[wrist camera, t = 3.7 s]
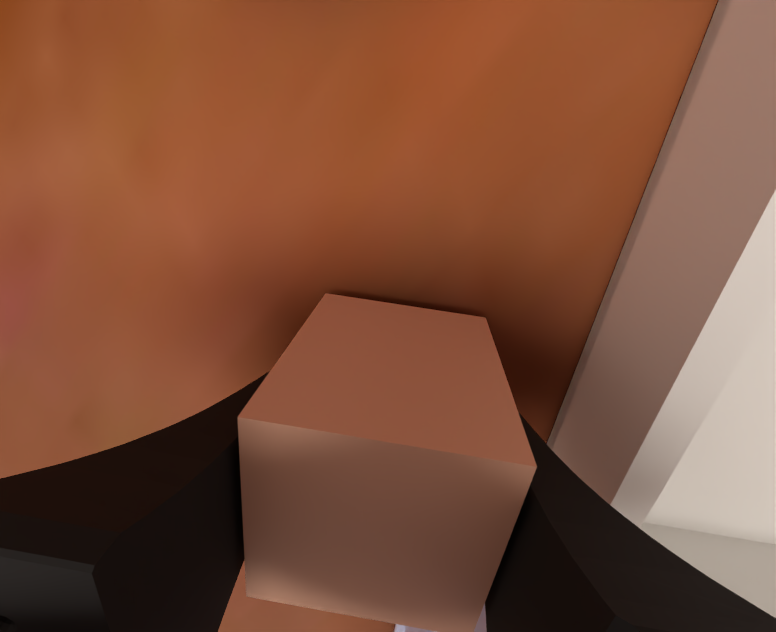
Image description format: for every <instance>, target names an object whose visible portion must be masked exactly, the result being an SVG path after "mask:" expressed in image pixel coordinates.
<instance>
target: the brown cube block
mask: <svg viewBox="0 0 776 632" xmlns="http://www.w3.org/2000/svg"><path fill="white" fill-rule="evenodd" d="M238 438H239V458H240V478H241V498H242V518H243V539H244V559H245V579H246V596H247V597H252V598H257V599H263V600H268V601H274V602H279V603H285V604H290V605H295V606H301V607H306V608H312V609H317V610H323V611H328V612H333V613H339V614H344V615H350V616H355V617H361V618H366V619H371V620H377V621H382V622H388V623H393V624H399V625H404V626H409V627H415V628H420V629H426V630H431V631H437V632H474V630H475V627H476V624H477V622H478V619H479V616H480V614H481V611H482V609H483V606H484V603H485V601H486V598H487V596H488V593H489V590H490V588H491V585H492V583H493V580H494V577H495V575H496V572H497V570H498V567H499V564H500V562H501V559H502V557H503V554H504V551H505V549H506V546H507V544H508V541H509V538H510V536H511V533H512V531H513V528H514V525H515V523H516V520H517V518H518V515H519V512H520V510H521V507H522V505H523V502H524V499H525V497H526V494H527V492H528V489H529V486H530V484H531V481H532V479H533V476H534V473H535V471H536V468H537V465H536V462H535V460H534V457H533V454H532V451H531V448H530V445H529V442H528V439H527V436H526V433H525V430H524V428H523V425H522V422H521V419H520V416H519V413H518V410H517V407H516V404H515V401H514V398H513V396H512V393H511V390H510V387H509V384H508V381H507V378H506V375H505V372H504V369H503V366H502V364H501V361H500V358H499V355H498V352H497V349H496V346H495V343H494V340H493V337H492V334H491V332H490V329H489V326H488V323H487V320H486V318H485V317H479V316H472V315H466V314H459V313H452V312H446V311H439V310H433V309H426V308H420V307H413V306H406V305H400V304H393V303H387V302H380V301H374V300H367V299H361V298H354V297H347V296H341V295H334V294H328V293H325V295H324V296H323V298H322V299H321V300H320V302H319V303H318V305H317V306H316V307H315V309H314V310H313V312H312V313H311V314H310V316H309V317H308V319H307V320H306V322H305V323H304V324H303V326H302V327H301V329H300V330H299V331H298V333H297V334H296V336H295V337H294V338H293V340H292V341H291V343H290V344H289V345H288V347H287V348H286V350H285V351H284V352H283V354H282V355H281V357H280V358H279V359H278V361H277V362H276V364H275V365H274V366H273V368H272V369H271V371H270V372H269V373H268V375H267V376H266V378H265V379H264V381H263V382H262V383H261V385H260V386H259V388H258V389H257V390H256V392H255V393H254V395H253V396H252V397H251V399H250V400H249V402H248V403H247V404H246V406H245V407H244V409H243V410H242V411H241V413H240V414H239V416H238Z"/></svg>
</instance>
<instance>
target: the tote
mask: <svg viewBox="0 0 776 632" xmlns="http://www.w3.org/2000/svg"><path fill="white" fill-rule="evenodd" d="M547 445H548V446H549V448H550V449H551V450H552V451H553V452H554V453H555V454H556V455H557V456H558V457H559V458H560V459H561V460H562V461H563V462H564V463H565V464H566V465H567V466H568V467H569V468H570V469H571V470H572V471H573V472H574V473H575V474H576V475H577V476H578V477H579V478H580V479H581V480H582V481H583V482H585V483H586V484H587V485H588V486H589V487H590V488H591V489H592V490H594V491H595V492H596V493H597V494H598V495H599V496H600V497H601V498H603V499H604V500H605V501H606V502H607V503H608V504H610V505H611V506H612V507H613V508H615V509H616V510H617V511H618V512H619V513H621V514H622V515H623V516H624V517H626V518H627V519H628V520H630V521H631V522H632V523H634V524H635V525H636V526H637V527H639V528H640V529H641V530H643V531H644V532H645V533H646V534H648V535H649V536H650V537H652V538H653V539H655V540H656V541H657V542H659V543H660V544H662V545H663V546H664V547H666V548H667V549H668V550H670V551H671V552H673V553H674V554H676V555H677V556H679V557H680V558H682V559H683V560H684V561H686V562H687V563H689V564H690V565H692V566H693V567H695V568H696V569H698V570H699V571H701V572H702V573H704V574H705V575H707V576H708V577H710V578H711V579H713V580H714V581H716V582H718V583H719V584H721V585H723V586H724V587H726V588H727V589H729V590H731V591H732V592H734V593H736V594H737V595H739V596H740V597H742V598H744V599H745V600H747V601H749V602H750V603H752V604H753V605H755V606H757V607H758V608H760V609H762V610H763V611H765V612H766V613H768V614H770V615H771V616H773V617H775V618H776V0H719V1H718V3H717V6H716V9H715V11H714V14H713V16H712V19H711V21H710V24H709V27H708V29H707V32H706V34H705V37H704V39H703V42H702V45H701V47H700V50H699V52H698V55H697V58H696V60H695V63H694V65H693V68H692V70H691V73H690V76H689V78H688V81H687V83H686V86H685V88H684V91H683V94H682V96H681V99H680V101H679V104H678V107H677V109H676V112H675V114H674V117H673V119H672V122H671V125H670V127H669V130H668V132H667V135H666V137H665V140H664V143H663V145H662V148H661V150H660V153H659V156H658V158H657V161H656V163H655V166H654V168H653V171H652V174H651V176H650V179H649V181H648V184H647V186H646V189H645V192H644V194H643V197H642V199H641V202H640V205H639V207H638V210H637V212H636V215H635V217H634V220H633V223H632V225H631V228H630V230H629V233H628V235H627V238H626V241H625V243H624V246H623V248H622V251H621V254H620V256H619V259H618V261H617V264H616V266H615V269H614V272H613V274H612V277H611V279H610V282H609V284H608V287H607V290H606V292H605V295H604V297H603V300H602V303H601V305H600V308H599V310H598V313H597V315H596V318H595V321H594V323H593V326H592V328H591V331H590V333H589V336H588V339H587V341H586V344H585V346H584V349H583V352H582V354H581V357H580V359H579V362H578V364H577V367H576V370H575V372H574V375H573V377H572V380H571V382H570V385H569V388H568V390H567V393H566V395H565V398H564V401H563V403H562V406H561V408H560V411H559V413H558V416H557V419H556V421H555V424H554V426H553V429H552V431H551V434H550V437H549V439H548V442H547Z"/></svg>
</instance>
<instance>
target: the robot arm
mask: <svg viewBox="0 0 776 632" xmlns="http://www.w3.org/2000/svg"><path fill="white" fill-rule="evenodd" d="M269 372H270V371H269ZM269 372H268V373H269ZM268 373H266V374H265V375H263V376H261V377H260V378H258V379H257V380H255V381H254V382H252V383H250V384H249V385H247V386H246V387H244V388H243V389H241V390H239V391H237V392H236V393H234V394H232V395H230V396H229V397H227V398H225V399H223V400H222V401H220V402H218V403H216V404H215V405H213V406H211V407H209V408H207V409H205V410H203V411H201V412H199V413H197V414H195V415H193V416H191V417H189V418H187V419H185V420H182V421H180V422H178V423H176V424H174V425H171V426H169V427H167V428H164V429H162V430H159V431H157V432H154V433H151V434H149V435H146V436H144V437H141V438H138V439H136V440H133V441H131V442H128V443H125V444H123V445H120V446H117V447H114V448H111V449H108V450H105V451H101V452H98V453H95V454H92V455H89V456H85V457H82V458H79V459H75V460H72V461H68V462H65V463H61V464H58V465H54V466H50V467H46V468H42V469H38V470H34V471H30V472H26V473H22V474H18V475H14V476H10V477H6V478H1V479H0V632H218V629H219V626H220V624H221V621H222V618H223V615H224V612H225V609H226V607H227V604H228V601H229V599H230V596H231V593H232V591H233V588H234V585H235V583H236V580H237V577H238V574H239V572H240V569H241V566H242V564H243V561H244V539H243V518H242V498H241V478H240V458H239V438H238V416H239V414H240V413H241V411H242V410H243V409H244V407H245V406H246V404H247V403H248V402H249V400H250V399H251V397H252V396H253V395H254V393H255V392H256V390H257V389H258V388H259V386H260V385H261V383H262V382H263V381H264V379H265V378H266V376H267V375H268ZM518 413H519V412H518ZM519 416H520V419H521V422H522V425H523V428H524V430H525V433H526V436H527V439H528V442H529V445H530V448H531V451H532V454H533V457H534V460H535V462H536V465H537V468H536V471H535V473H534V476H533V479H532V481H531V484H530V486H529V489H528V492H527V494H526V497H525V499H524V502H523V505H522V507H521V510H520V512H519V515H518V518H517V520H516V523H515V525H514V528H513V531H512V533H511V536H510V538H509V541H508V544H507V546H506V549H505V551H504V554H503V557H502V559H501V562H500V564H499V567H498V570H497V572H496V575H495V577H494V580H493V583H492V585H491V588H490V590H489V593H488V596H487V598H486V601H485V603H484V606H483V609H482V611H481V614H480V616H479V619H478V622H477V624H476V627H475V630H474V632H776V618H775V617H773V616H771V615H770V614H768V613H766V612H765V611H763V610H762V609H760V608H758V607H757V606H755V605H753V604H752V603H750V602H749V601H747V600H745V599H744V598H742V597H740V596H739V595H737V594H736V593H734V592H732V591H731V590H729V589H727V588H726V587H724V586H723V585H721V584H719V583H718V582H716V581H714V580H713V579H711V578H710V577H708V576H707V575H705V574H704V573H702V572H701V571H699V570H698V569H696V568H695V567H693V566H692V565H690V564H689V563H687V562H686V561H684V560H683V559H682V558H680V557H679V556H677V555H676V554H674V553H673V552H671V551H670V550H668V549H667V548H666V547H664V546H663V545H662V544H660V543H659V542H657V541H656V540H655V539H653V538H652V537H650V536H649V535H648V534H646V533H645V532H644V531H643V530H641V529H640V528H639V527H637V526H636V525H635V524H634V523H632V522H631V521H630V520H628V519H627V518H626V517H624V516H623V515H622V514H621V513H619V512H618V511H617V510H616V509H615V508H613V507H612V506H611V505H610V504H608V503H607V502H606V501H605V500H604V499H603V498H601V497H600V496H599V495H598V494H597V493H596V492H595V491H594V490H592V489H591V488H590V487H589V486H588V485H587V484H586V483H585V482H583V481H582V480H581V479H580V478H579V477H578V476H577V475H576V474H575V473H574V472H573V471H572V470H571V469H570V468H569V467H568V466H567V465H566V464H565V463H564V462H563V461H562V460H561V459H560V458H559V457H558V456H557V455H556V454H555V453H554V452H553V451H552V450H551V449H550V448H549V446H548V445H547V444H546V443H545V442H544V441H543V440H542V439H541V438H540V437H539V435H538V434H537V433H536V432H535V431H534V430H533V429H532V427H531V426H530V425H529V424H528V423H527V421H526V420H525V419H524V418H523V417H522V415H521V414H520V413H519ZM394 632H437V631H431V630H426V629H420V628H415V627H409V626H404V625H399V624H395V628H394Z"/></svg>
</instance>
